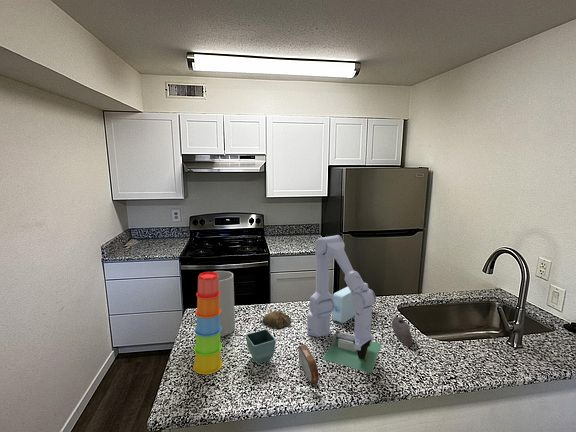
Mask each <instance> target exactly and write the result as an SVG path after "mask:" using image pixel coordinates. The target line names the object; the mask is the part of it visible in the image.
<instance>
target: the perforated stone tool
mask: <svg viewBox="0 0 576 432" xmlns="http://www.w3.org/2000/svg"><path fill="white" fill-rule="evenodd" d="M391 327H392V330H393V332H394V334H395V337H397V338H398V339H399V341H400V342H401V343H402V344H404V345H405V346H406V347H408V348H410V347H411V346H412V344H413V336H412V332H411V330H410V328H409V326H408V324H407V322H406V321H405V320H404V319H403V317H400V316H399V317H398V316H395V317H393V318H392V320H391Z"/></svg>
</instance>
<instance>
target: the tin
mask: <svg viewBox="0 0 576 432" xmlns="http://www.w3.org/2000/svg"><path fill="white" fill-rule="evenodd" d="M297 349H298V350H297V351H298V361H299V364H300V365H301V367H302V369H303V371H304V373H305V375H306V377H307V379H308V381H309V384H311V385H312V384H315V383H319V382H320V374H319V373H320V372H319V368H318V365H317V362H316V359H315V357H314V355H313V354H312V352H311V351H310V348H309V346H308V345H307V344H302V345H299V346H298V348H297Z"/></svg>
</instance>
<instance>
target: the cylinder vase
mask: <svg viewBox="0 0 576 432" xmlns="http://www.w3.org/2000/svg"><path fill="white" fill-rule="evenodd" d="M214 272H215V273H217V274H218V276H219V291H220V295H219V308H220V309H221V313H220V326H221V331H220V337H224V336H225V337H226V336H227V335H230V334H231V333H233V332H235V331H234V330H235V328H236V318H235V317H236V316H235V290H234V289H235V286H234V273H233V272H231V271H227V270H226V271H225V270H216V271H214Z"/></svg>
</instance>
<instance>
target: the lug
mask: <svg viewBox="0 0 576 432" xmlns="http://www.w3.org/2000/svg"><path fill="white" fill-rule="evenodd" d="M368 356H369V346H368V348H367V352H366V356H365V359H363V360H367V359H368Z"/></svg>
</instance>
